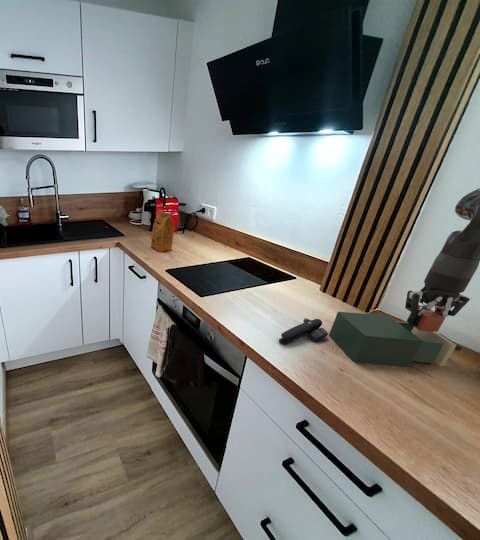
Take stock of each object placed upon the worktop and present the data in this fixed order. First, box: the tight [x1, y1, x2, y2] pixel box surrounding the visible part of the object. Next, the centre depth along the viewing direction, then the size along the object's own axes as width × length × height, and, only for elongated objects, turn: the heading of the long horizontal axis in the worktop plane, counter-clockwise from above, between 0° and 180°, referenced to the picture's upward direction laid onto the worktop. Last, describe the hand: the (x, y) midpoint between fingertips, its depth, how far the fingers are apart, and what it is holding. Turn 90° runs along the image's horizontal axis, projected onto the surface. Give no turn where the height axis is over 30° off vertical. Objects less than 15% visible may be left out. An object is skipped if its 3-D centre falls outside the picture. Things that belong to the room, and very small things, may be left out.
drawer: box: [395, 320, 463, 367], centre depth 83 cm, size 18×11×7 cm, turn 84°
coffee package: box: [150, 209, 175, 253], centre depth 162 cm, size 10×12×22 cm
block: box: [406, 307, 446, 333], centre depth 80 cm, size 5×5×5 cm
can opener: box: [278, 317, 329, 345], centre depth 89 cm, size 18×7×6 cm, turn 111°
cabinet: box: [328, 311, 423, 368], centre depth 84 cm, size 15×13×9 cm
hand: (422, 325), depth 81 cm, fingers closed on block, 4 cm apart
